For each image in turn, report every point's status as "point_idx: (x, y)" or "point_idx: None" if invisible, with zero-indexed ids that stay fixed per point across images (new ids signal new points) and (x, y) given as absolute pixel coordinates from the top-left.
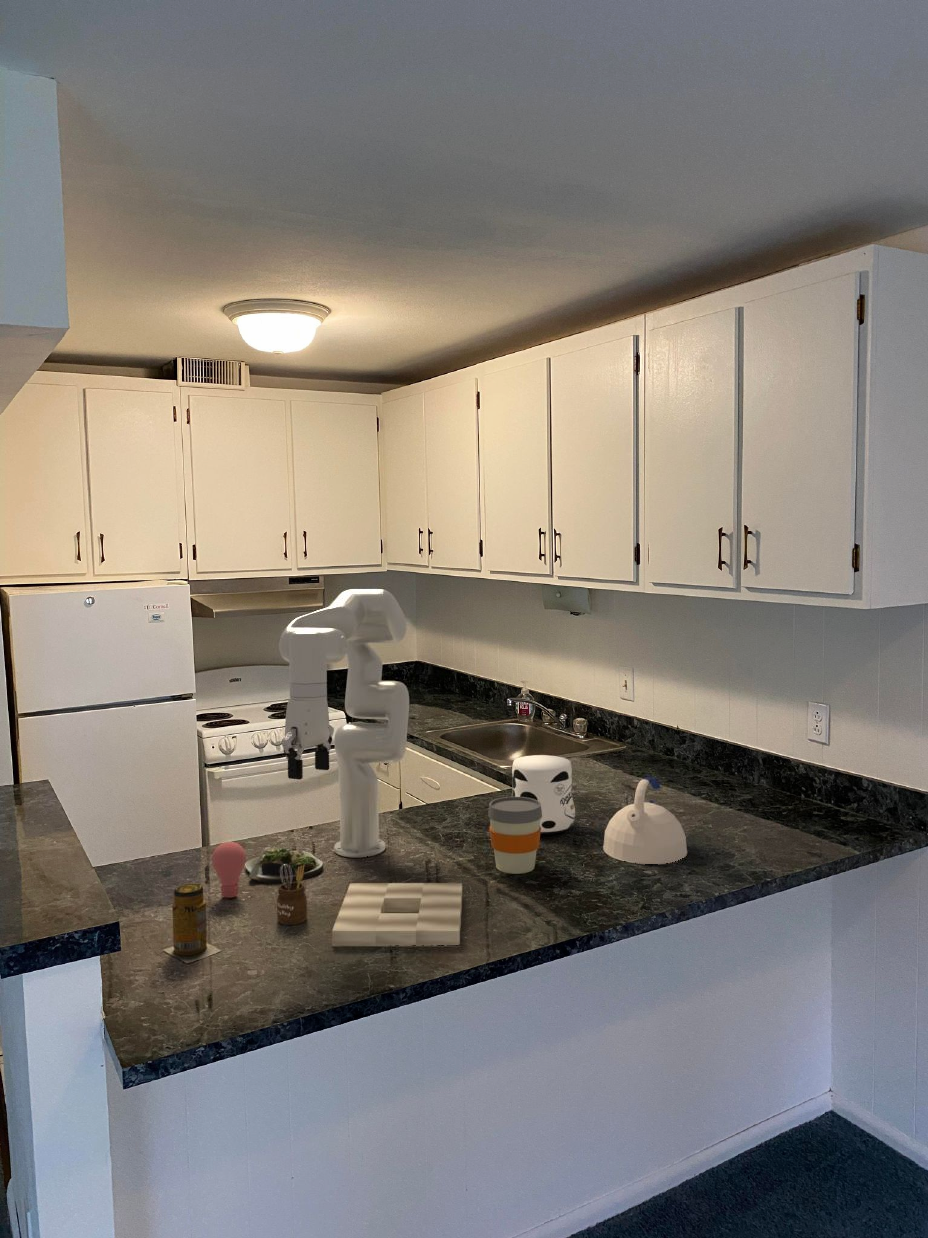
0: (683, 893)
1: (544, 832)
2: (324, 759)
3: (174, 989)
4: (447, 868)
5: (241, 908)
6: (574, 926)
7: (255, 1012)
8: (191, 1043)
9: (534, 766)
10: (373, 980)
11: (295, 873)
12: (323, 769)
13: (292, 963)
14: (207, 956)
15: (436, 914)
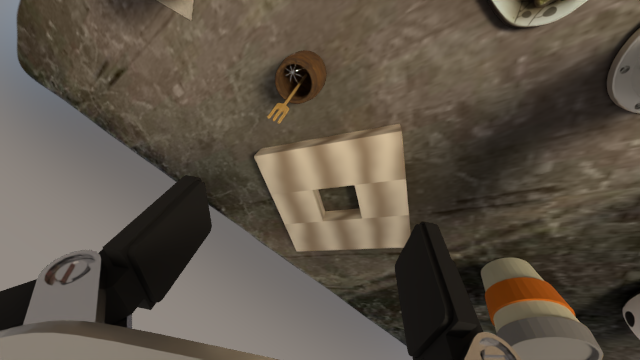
0: None
1: (624, 304)
2: (407, 304)
3: (100, 19)
4: (512, 214)
5: None
6: (355, 297)
7: (133, 128)
8: (70, 99)
9: None
10: (223, 196)
11: None
12: (401, 254)
13: (213, 123)
14: (171, 8)
15: (324, 234)
